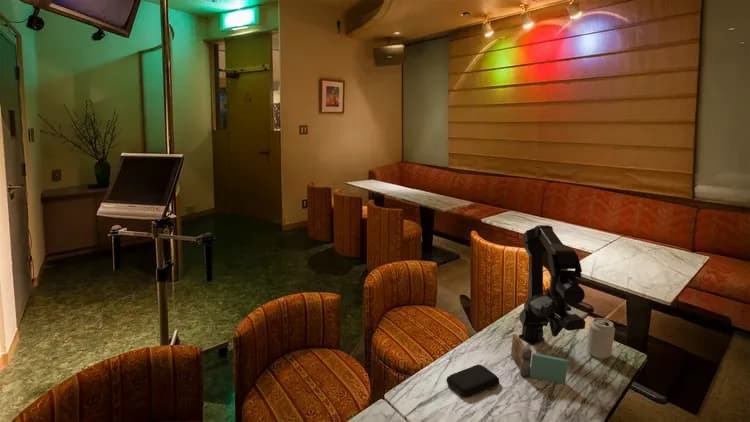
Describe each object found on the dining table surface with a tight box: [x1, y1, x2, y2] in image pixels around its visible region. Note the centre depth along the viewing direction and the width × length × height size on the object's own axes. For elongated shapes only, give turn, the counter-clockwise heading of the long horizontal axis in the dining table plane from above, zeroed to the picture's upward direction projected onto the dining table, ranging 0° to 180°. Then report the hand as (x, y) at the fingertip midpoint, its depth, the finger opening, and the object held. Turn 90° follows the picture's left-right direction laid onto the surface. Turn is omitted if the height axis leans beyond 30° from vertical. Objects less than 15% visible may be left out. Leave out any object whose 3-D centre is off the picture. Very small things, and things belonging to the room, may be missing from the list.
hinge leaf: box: [521, 352, 569, 385], centre depth 135 cm, size 13×3×8 cm, turn 68°
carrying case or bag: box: [445, 364, 500, 398], centre depth 133 cm, size 11×3×15 cm
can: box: [586, 317, 616, 360], centre depth 148 cm, size 8×8×12 cm
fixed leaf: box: [510, 333, 533, 379], centre depth 141 cm, size 12×3×9 cm, turn 3°
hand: (554, 336), depth 137 cm, fingers closed
